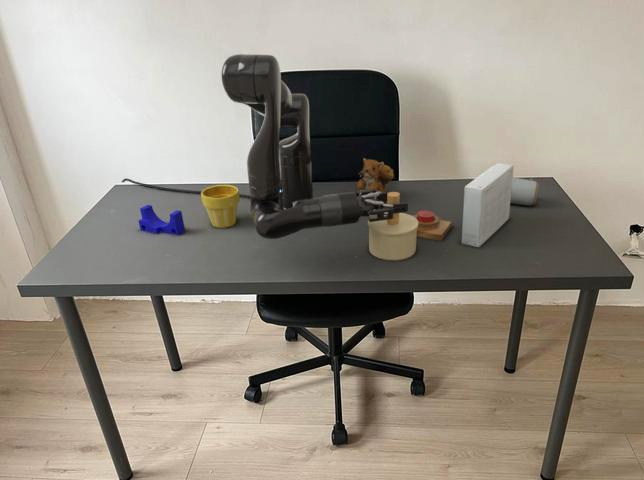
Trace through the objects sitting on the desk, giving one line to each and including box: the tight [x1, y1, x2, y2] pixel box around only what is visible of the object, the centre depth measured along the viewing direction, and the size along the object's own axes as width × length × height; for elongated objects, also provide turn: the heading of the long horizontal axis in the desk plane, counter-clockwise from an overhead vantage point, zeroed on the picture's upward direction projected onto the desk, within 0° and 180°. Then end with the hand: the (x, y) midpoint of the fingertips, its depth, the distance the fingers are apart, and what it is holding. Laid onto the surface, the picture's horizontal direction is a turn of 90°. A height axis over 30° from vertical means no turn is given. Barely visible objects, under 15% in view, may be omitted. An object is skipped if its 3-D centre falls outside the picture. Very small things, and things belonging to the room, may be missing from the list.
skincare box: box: [461, 162, 515, 248], centre depth 143 cm, size 21×5×16 cm, turn 145°
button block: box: [410, 213, 452, 242], centre depth 148 cm, size 12×9×4 cm
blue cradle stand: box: [138, 204, 186, 236], centre depth 151 cm, size 12×4×6 cm, turn 65°
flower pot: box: [200, 184, 240, 229], centre depth 153 cm, size 10×10×10 cm
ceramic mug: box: [510, 176, 540, 206], centre depth 162 cm, size 11×8×8 cm
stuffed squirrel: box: [356, 157, 395, 202], centre depth 165 cm, size 10×14×13 cm
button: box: [417, 210, 435, 223], centre depth 147 cm, size 4×4×2 cm
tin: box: [368, 227, 418, 261], centre depth 138 cm, size 12×12×7 cm
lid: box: [367, 191, 418, 235], centre depth 134 cm, size 13×13×9 cm
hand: (401, 201), depth 133 cm, fingers open, 7 cm apart
